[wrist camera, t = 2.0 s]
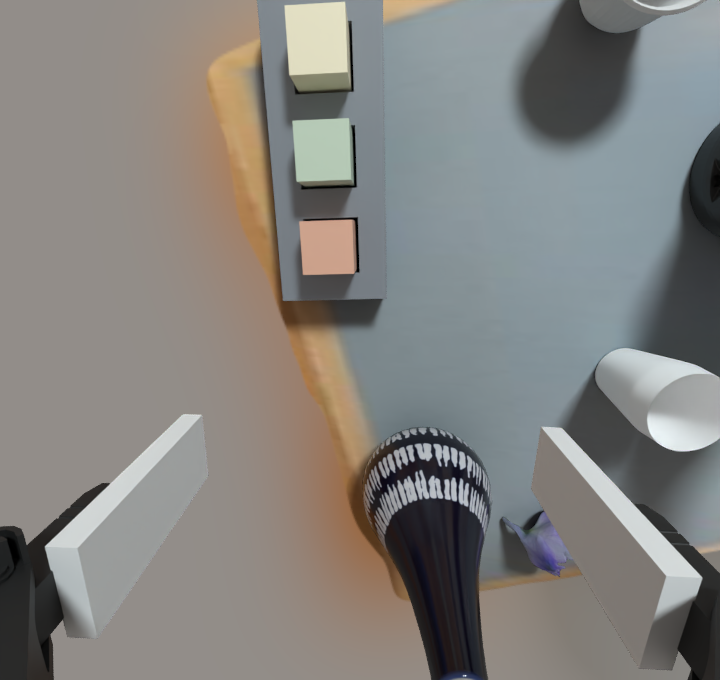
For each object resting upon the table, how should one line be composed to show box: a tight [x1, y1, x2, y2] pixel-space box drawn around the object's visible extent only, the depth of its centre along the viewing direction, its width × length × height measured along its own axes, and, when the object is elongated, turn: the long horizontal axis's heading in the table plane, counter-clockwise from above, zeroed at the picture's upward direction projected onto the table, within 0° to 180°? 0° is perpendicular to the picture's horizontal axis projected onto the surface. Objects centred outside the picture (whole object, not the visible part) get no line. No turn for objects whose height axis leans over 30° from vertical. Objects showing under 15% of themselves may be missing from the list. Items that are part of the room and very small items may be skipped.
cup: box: [595, 348, 720, 451], centre depth 45 cm, size 9×9×12 cm
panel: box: [257, 0, 387, 301], centre depth 43 cm, size 30×12×5 cm, turn 2°
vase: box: [363, 427, 492, 680], centre depth 41 cm, size 16×16×30 cm
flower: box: [503, 511, 573, 577], centre depth 55 cm, size 9×9×10 cm
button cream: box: [284, 2, 352, 94], centre depth 37 cm, size 5×5×6 cm
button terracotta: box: [299, 220, 357, 275], centre depth 42 cm, size 5×5×6 cm
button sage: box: [292, 118, 355, 188], centre depth 40 cm, size 5×5×6 cm
